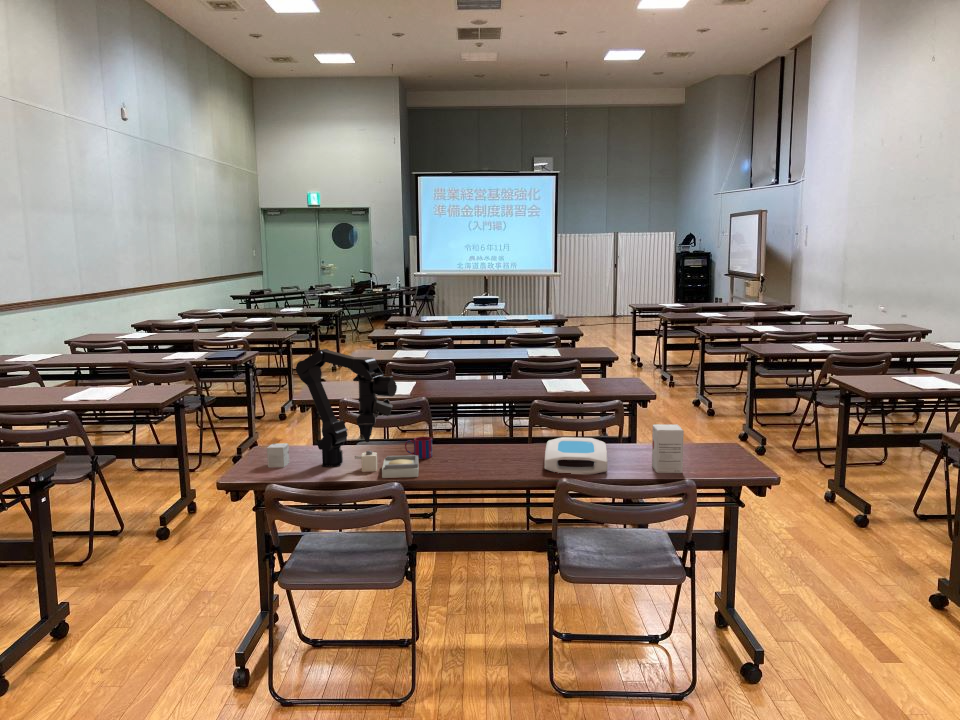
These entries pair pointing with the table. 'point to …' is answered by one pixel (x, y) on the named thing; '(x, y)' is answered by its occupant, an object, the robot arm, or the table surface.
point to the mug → (421, 447)
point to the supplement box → (667, 448)
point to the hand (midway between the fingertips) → (368, 438)
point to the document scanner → (576, 455)
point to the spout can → (368, 461)
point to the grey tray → (400, 466)
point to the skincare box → (278, 455)
